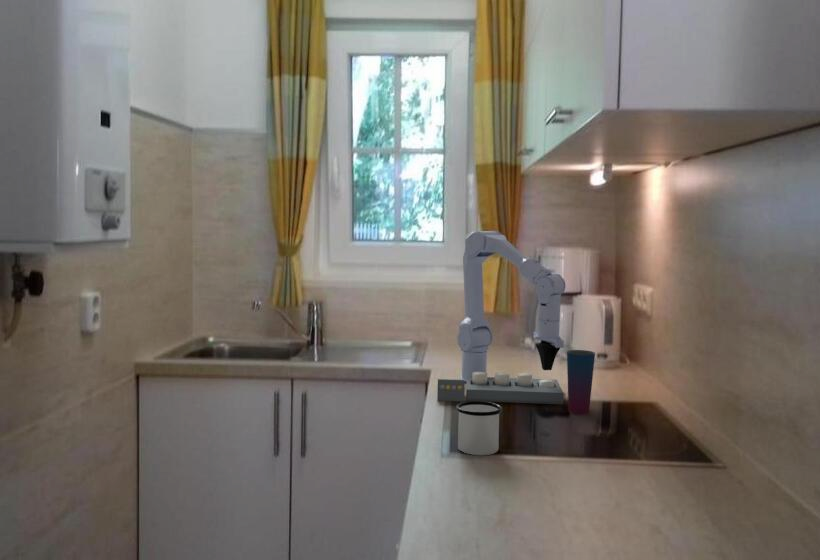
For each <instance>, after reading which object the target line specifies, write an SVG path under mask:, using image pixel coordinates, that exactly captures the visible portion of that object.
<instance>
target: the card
mask: <svg viewBox="0 0 820 560" xmlns="http://www.w3.org/2000/svg"><path fill="white" fill-rule="evenodd" d="M465 384H466V382H465V379H459V378H437V394H436V395H437V398H436V399H437V400H436V401H438V400H443V401H444V402H445V401H446V402H465V393H466V390H465V388H466V387H465V386H466V385H465ZM443 401H442V402H443Z"/></svg>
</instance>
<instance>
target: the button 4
mask: <svg viewBox="0 0 820 560" xmlns="http://www.w3.org/2000/svg"><path fill="white" fill-rule="evenodd" d="M546 379H547V378H544V380H539V387H554V381H553V380H554V379H553V380H546Z"/></svg>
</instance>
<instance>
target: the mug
mask: <svg viewBox="0 0 820 560" xmlns="http://www.w3.org/2000/svg"><path fill="white" fill-rule="evenodd" d="M455 410H456V411H457V412H458V427H457V428H458V430H457V449H458V450H459V452H461V451H462V453H463V452H464V454H466V453H467V454H466V455H470V454H471V456H479V457H480V456H482V457H483V456H490V455H493V454H495V453H497V452H498V451H499V443H500V441H499V436H500V433H499V432H500V414H501V413H502V412H503V407H502V406H501V405H499V404H497V403H496V402H488V401H461V402H459V403H458V404H456V405H455Z"/></svg>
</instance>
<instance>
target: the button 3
mask: <svg viewBox="0 0 820 560" xmlns="http://www.w3.org/2000/svg"><path fill="white" fill-rule="evenodd" d="M516 374H517V375H516V378H517V386H528V387H532V379H533V374H530V373H527V372H526V373H524V372H523V373H522V372H521V373H516Z"/></svg>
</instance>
